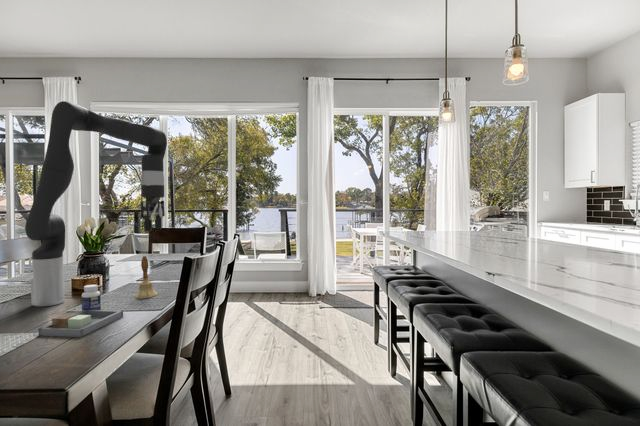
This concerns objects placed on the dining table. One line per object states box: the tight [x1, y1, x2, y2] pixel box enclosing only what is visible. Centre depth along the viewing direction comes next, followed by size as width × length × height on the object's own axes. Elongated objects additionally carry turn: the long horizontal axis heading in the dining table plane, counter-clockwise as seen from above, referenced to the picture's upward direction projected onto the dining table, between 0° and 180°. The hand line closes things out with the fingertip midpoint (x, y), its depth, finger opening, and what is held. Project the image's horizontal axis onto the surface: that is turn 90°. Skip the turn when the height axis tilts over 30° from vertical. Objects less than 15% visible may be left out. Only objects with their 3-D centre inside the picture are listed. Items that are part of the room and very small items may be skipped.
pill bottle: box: [81, 284, 102, 312], centre depth 125 cm, size 5×5×10 cm
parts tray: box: [37, 309, 124, 338], centre depth 112 cm, size 13×18×2 cm
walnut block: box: [51, 313, 76, 328], centre depth 108 cm, size 4×4×4 cm
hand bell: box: [134, 255, 158, 299], centre depth 149 cm, size 8×8×16 cm
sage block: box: [68, 315, 91, 329], centre depth 108 cm, size 4×4×4 cm
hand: (153, 229), depth 133 cm, fingers open, 8 cm apart
